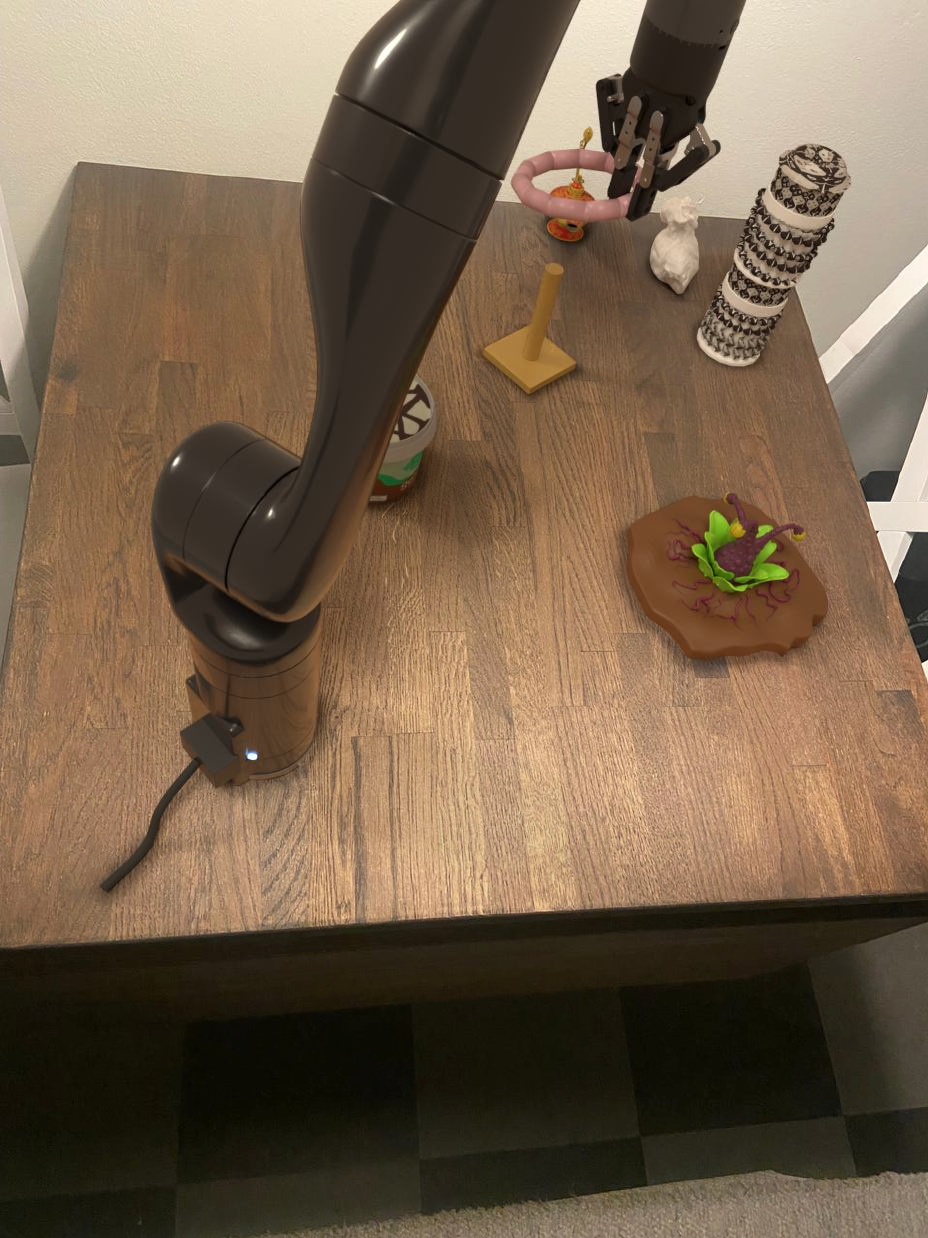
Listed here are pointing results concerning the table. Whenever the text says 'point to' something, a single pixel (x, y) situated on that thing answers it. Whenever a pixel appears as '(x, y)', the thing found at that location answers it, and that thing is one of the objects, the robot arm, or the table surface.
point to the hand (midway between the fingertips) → (625, 210)
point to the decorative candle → (774, 252)
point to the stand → (533, 343)
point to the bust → (676, 244)
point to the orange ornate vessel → (575, 190)
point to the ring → (564, 206)
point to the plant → (723, 578)
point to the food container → (406, 445)
